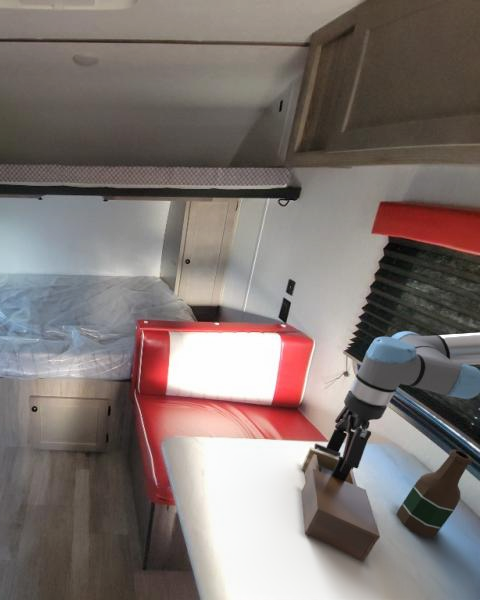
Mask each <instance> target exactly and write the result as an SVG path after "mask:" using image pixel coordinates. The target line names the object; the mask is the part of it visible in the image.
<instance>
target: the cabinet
mask: <svg viewBox="0 0 480 600" xmlns="http://www.w3.org/2000/svg"><path fill="white" fill-rule="evenodd" d="M300 493H301V494H300V495H301V503H302V504H301V505H302V506H301V507H302V515H303V527H304V534H305V535H306V536H308V537H310V538H312V539H314V540H316V541H318V542H321V543H322V544H325V545H326V546H329V547H331V548H333V549H335V550H337V551H339V552H341V553H343V554H345V555H348V556H350V557H352V558H353V559H356V560H357V561H361V562H362V563H364V562H365V561H366V559H367V557H368V556H369V554H370V553H371V552H372V550H373V548H374V547H375V545H376V544H377V542H378V540H379V539H380V537H381V535H380V532H379V528H378V525H377V521H376V518H375V515H374V511H373V509H372V506H371V503H370V499H369V496H368V493H367V489H365V488H362V487H361V486H358V485H357V486H355V485H353V484H350V483H348V482H345V481H343V480H340V479H338V478H336V477H333V476H331V475H328V474H326V473H323V472H321V471H318V470H316V469H313V468H312V470H311V472H310V474H309V476H308V478H307V481H305V483H304V484H303V487H302V489H301V491H300Z"/></svg>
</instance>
